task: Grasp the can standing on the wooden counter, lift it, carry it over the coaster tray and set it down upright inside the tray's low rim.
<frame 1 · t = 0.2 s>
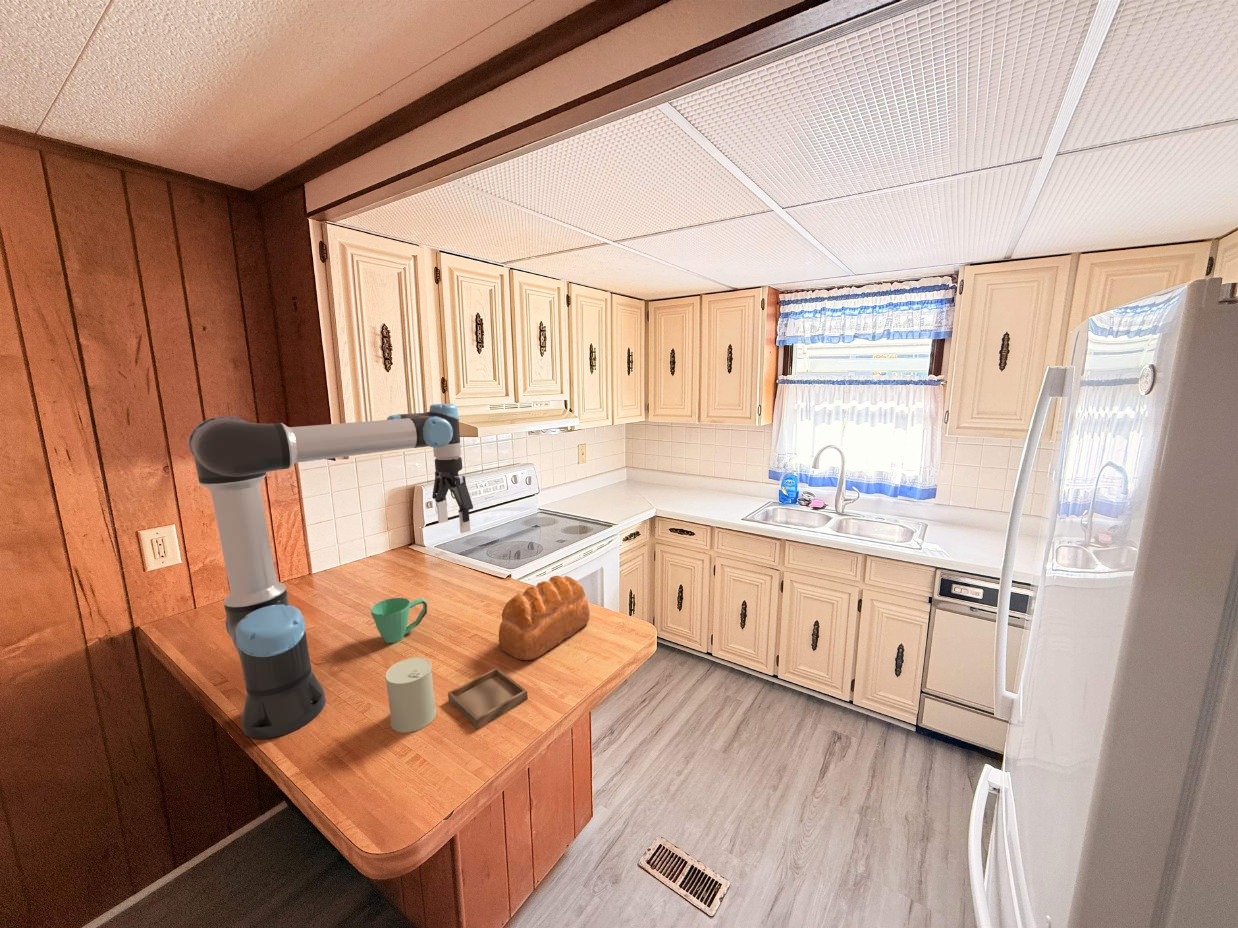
hand: (454, 527, 144), 28 cm above the countertop, fingers open, 13 cm apart
can: (414, 717, 104), on the countertop
bread: (546, 635, 136), on the countertop
mug: (403, 635, 137), on the countertop
tray: (488, 699, 109), on the countertop
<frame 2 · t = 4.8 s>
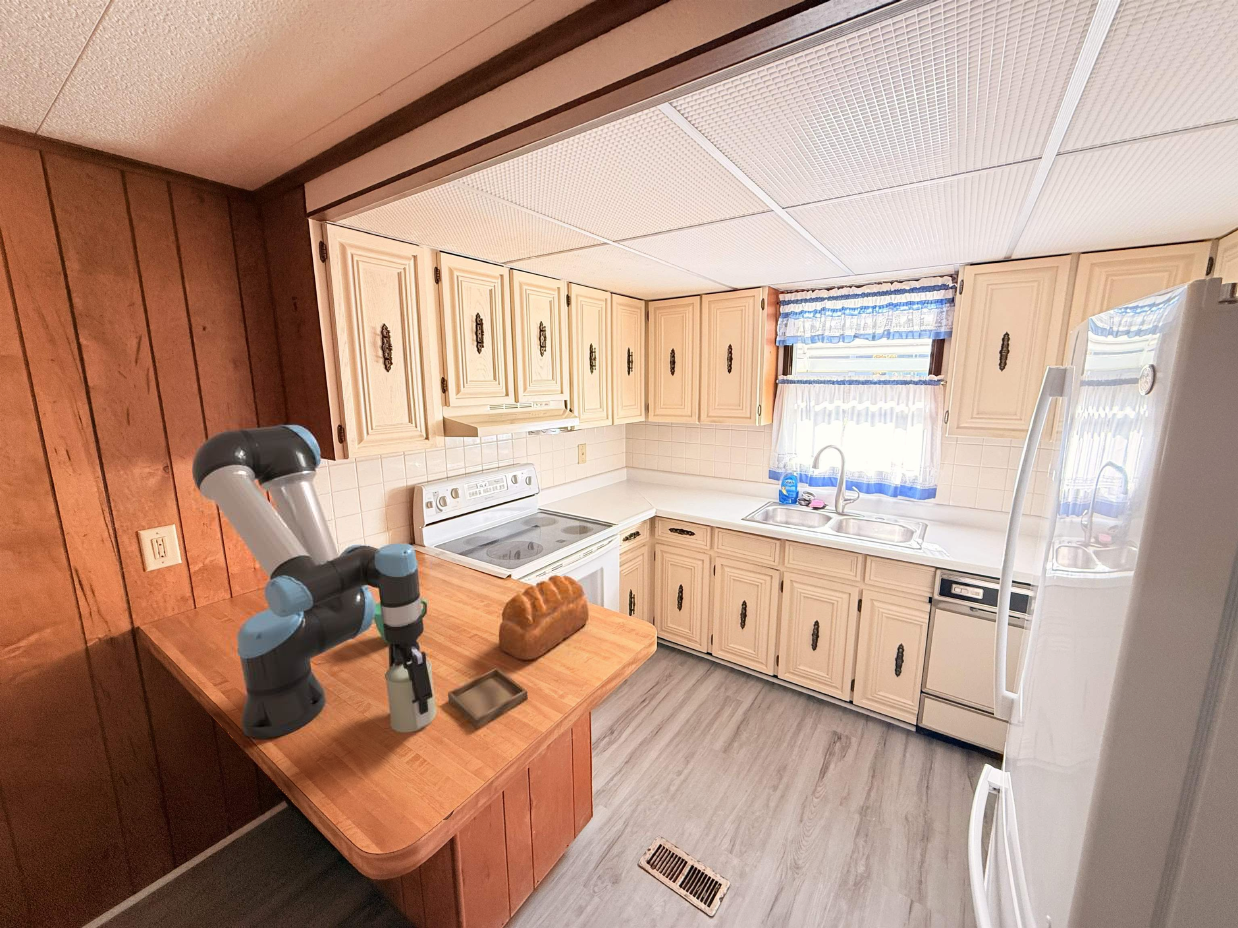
hand: (413, 713, 104), 1 cm above the countertop, fingers closed on can, 9 cm apart
can: (414, 717, 104), on the countertop, touching gripper
everything else where it was.
when the fingers open (4 cm above the countertop, at t = 10.0 s): can drops 3 cm, resting on tray.
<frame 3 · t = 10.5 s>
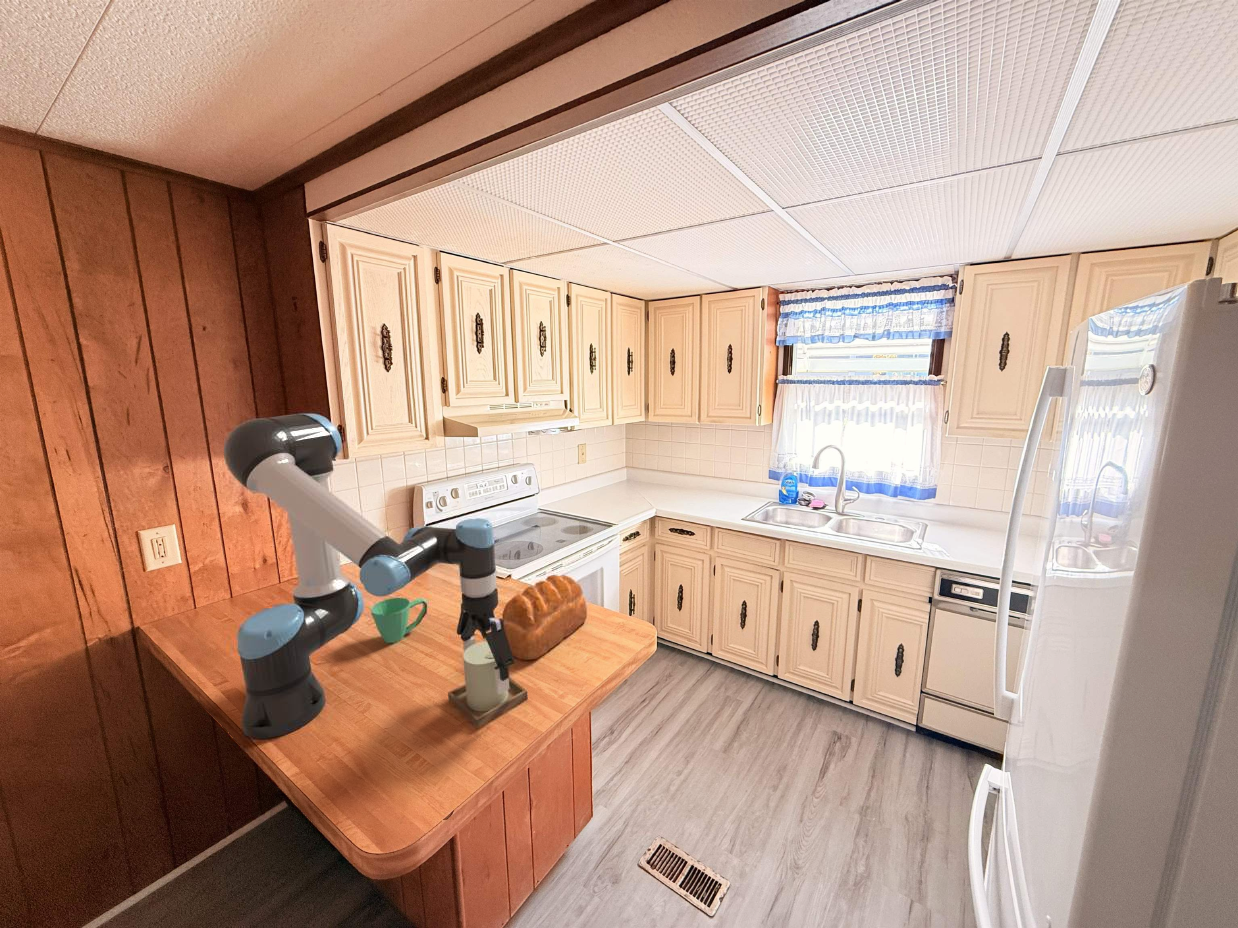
hand: (486, 677, 108), 6 cm above the countertop, fingers open, 13 cm apart
can: (487, 698, 109), resting on tray
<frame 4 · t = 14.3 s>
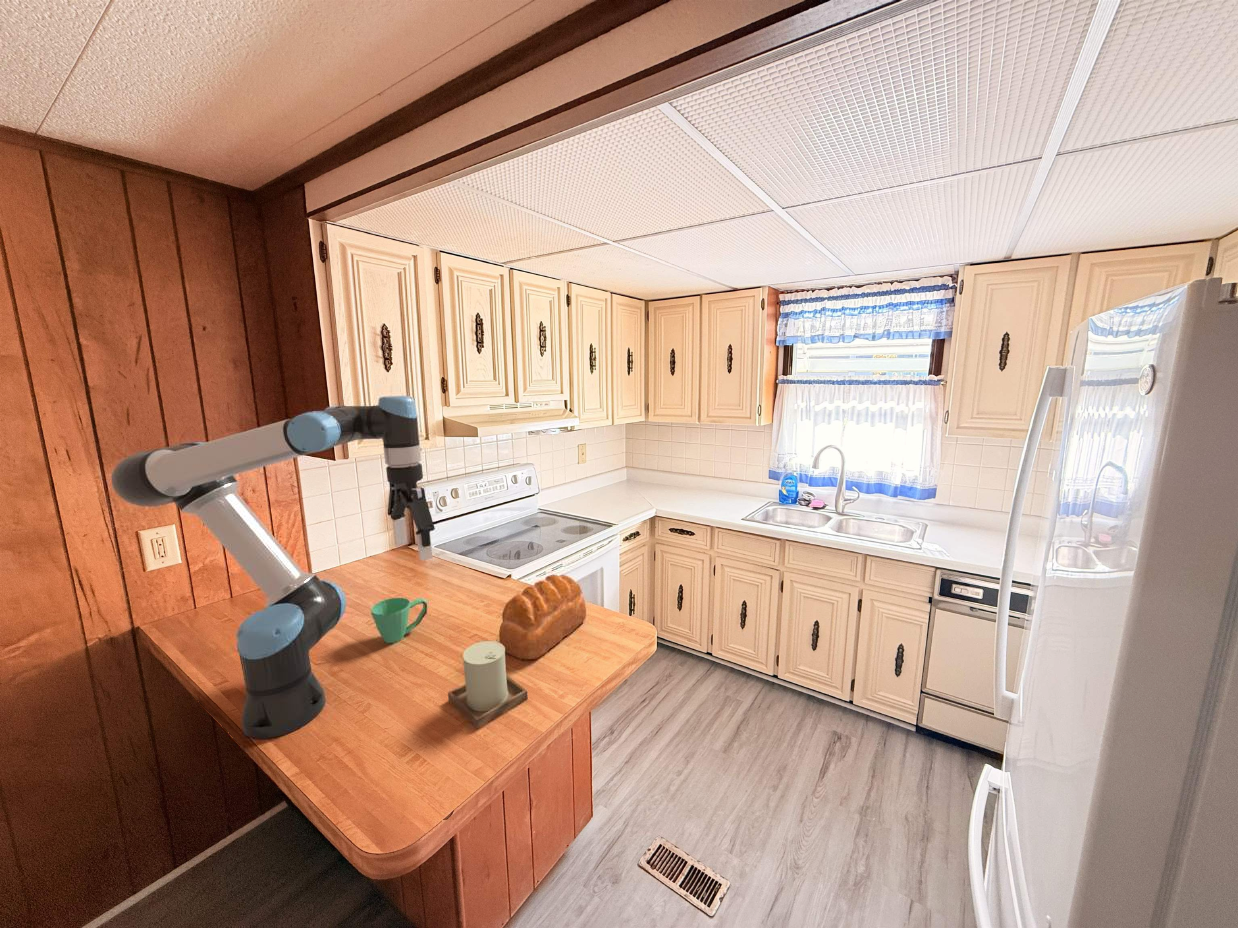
hand: (413, 551, 114), 32 cm above the countertop, fingers open, 13 cm apart
nothing on the countertop moved.
at the end: can 0.1 cm from the tray (horizontally); can resting on tray; can tilted 0° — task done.
